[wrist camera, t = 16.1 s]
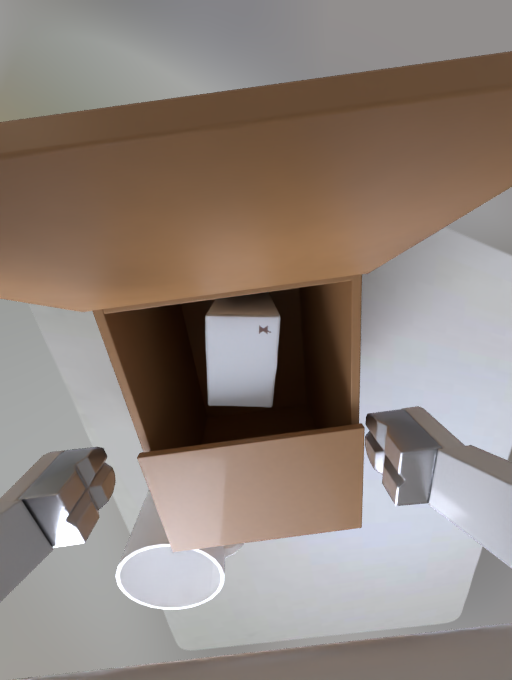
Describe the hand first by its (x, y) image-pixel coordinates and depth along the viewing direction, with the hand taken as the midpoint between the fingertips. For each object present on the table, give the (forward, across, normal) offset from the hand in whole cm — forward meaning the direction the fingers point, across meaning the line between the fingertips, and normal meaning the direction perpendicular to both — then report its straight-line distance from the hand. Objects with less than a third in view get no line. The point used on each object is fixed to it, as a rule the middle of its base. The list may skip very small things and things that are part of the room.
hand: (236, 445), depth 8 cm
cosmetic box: (+19, 0, 0) cm, 19 cm away
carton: (+19, 0, +4) cm, 20 cm away
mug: (+19, +8, +20) cm, 29 cm away
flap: (+1, 0, -5) cm, 6 cm away
